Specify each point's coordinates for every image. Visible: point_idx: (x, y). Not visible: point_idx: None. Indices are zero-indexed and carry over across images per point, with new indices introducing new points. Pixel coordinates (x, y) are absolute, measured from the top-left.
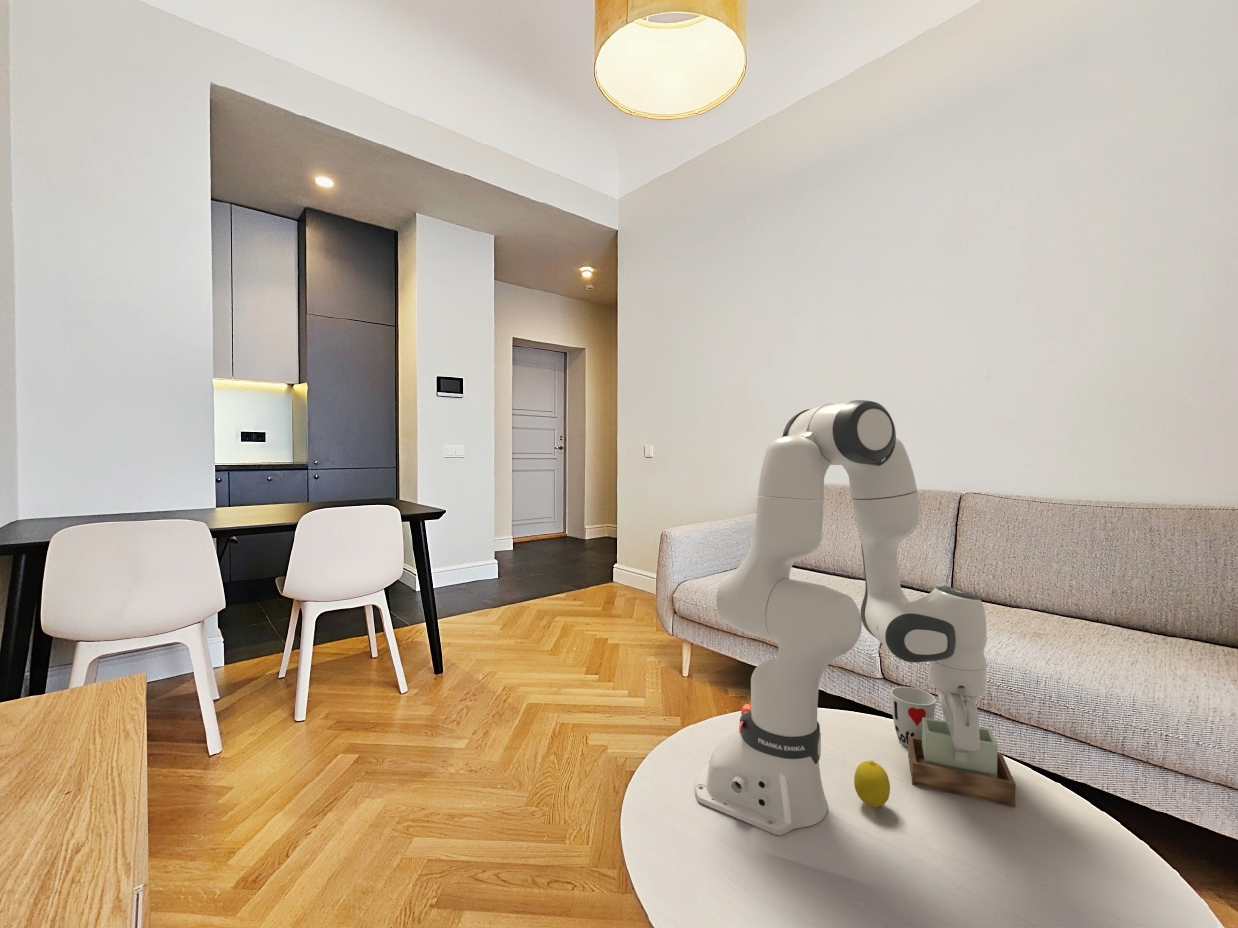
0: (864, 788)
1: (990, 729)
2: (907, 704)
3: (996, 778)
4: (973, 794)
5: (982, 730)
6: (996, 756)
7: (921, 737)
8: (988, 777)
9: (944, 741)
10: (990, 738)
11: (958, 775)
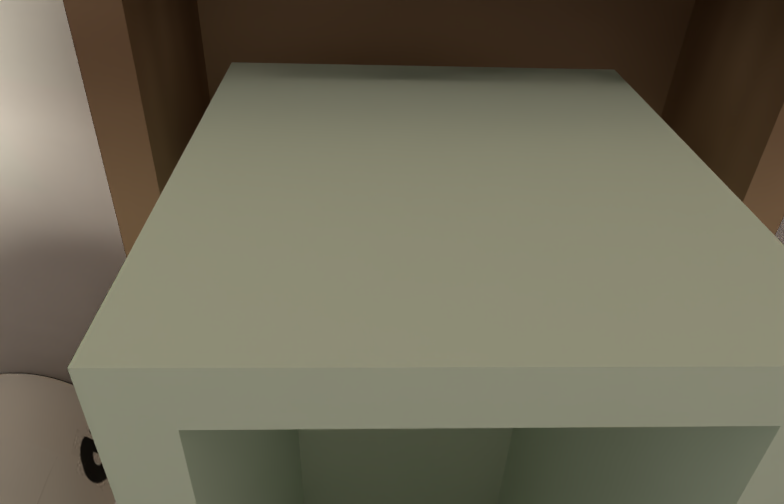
0: None
1: (90, 364)
2: None
3: (775, 131)
4: None
5: (204, 466)
6: (735, 213)
7: (103, 500)
8: (759, 206)
9: None
10: (550, 407)
11: None
